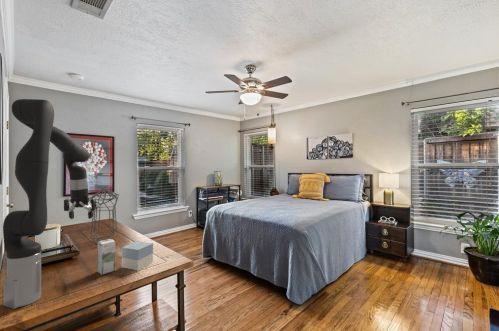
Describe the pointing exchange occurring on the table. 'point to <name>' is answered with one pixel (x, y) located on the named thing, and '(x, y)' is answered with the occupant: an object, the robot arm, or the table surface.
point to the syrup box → (106, 256)
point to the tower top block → (137, 250)
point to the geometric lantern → (104, 210)
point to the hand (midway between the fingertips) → (81, 218)
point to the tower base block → (137, 262)
